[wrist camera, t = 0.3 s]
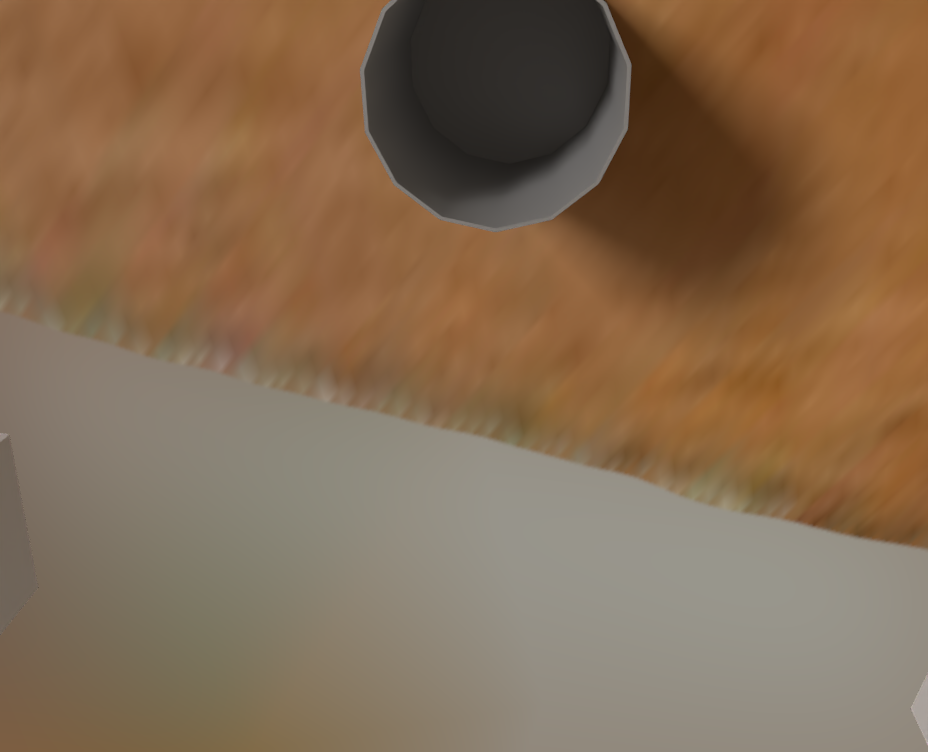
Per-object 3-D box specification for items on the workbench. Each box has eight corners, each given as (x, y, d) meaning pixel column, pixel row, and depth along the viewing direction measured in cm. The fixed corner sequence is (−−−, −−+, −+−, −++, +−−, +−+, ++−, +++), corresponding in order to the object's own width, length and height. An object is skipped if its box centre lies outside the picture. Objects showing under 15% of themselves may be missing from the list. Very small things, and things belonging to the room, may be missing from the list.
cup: (643, 109, 35) (672, 163, 26) (468, 194, 38) (441, 270, 29) (558, -97, 32) (559, -113, 23) (373, 10, 34) (310, 32, 26)
